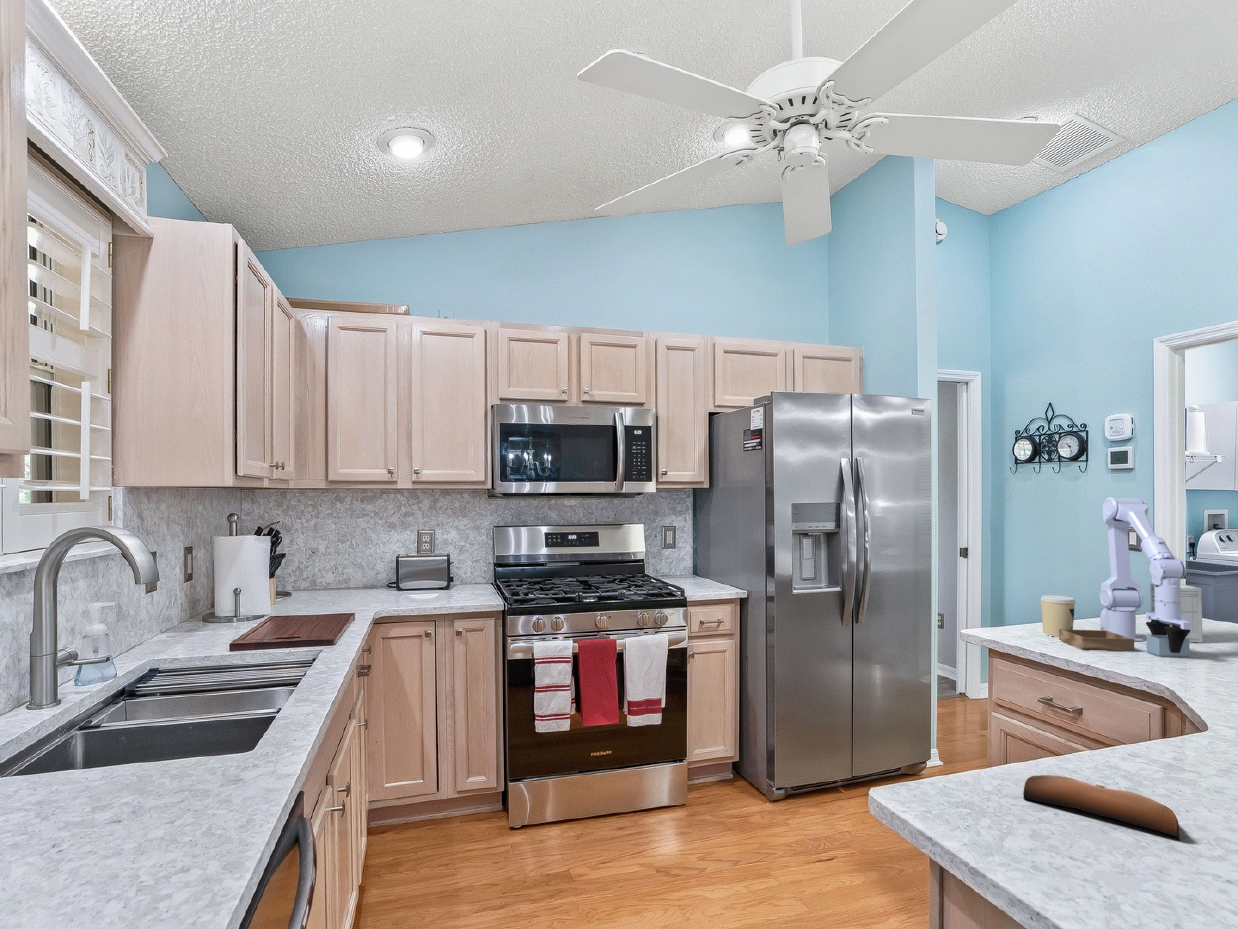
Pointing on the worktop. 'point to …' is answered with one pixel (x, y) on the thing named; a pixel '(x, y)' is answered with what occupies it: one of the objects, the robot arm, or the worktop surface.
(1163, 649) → the slate crate
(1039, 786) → the sunglasses case
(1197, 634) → the supplement box
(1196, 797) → the worktop surface
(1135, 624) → the robot arm
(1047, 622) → the coffee cup
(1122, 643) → the walnut crate
